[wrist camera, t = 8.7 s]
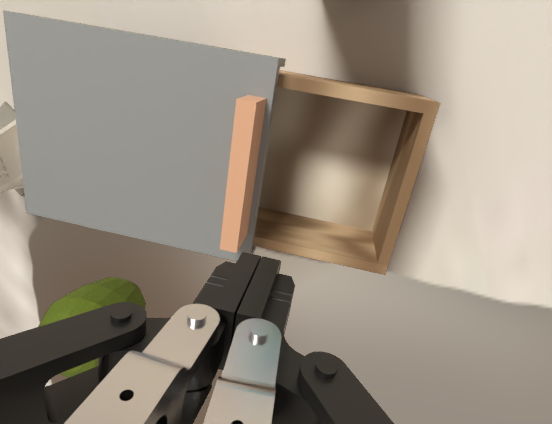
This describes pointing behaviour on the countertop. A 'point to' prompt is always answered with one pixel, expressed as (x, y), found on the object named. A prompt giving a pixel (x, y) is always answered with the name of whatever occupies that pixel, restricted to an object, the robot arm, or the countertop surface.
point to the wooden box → (340, 169)
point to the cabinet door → (141, 132)
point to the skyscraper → (9, 152)
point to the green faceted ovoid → (92, 306)
